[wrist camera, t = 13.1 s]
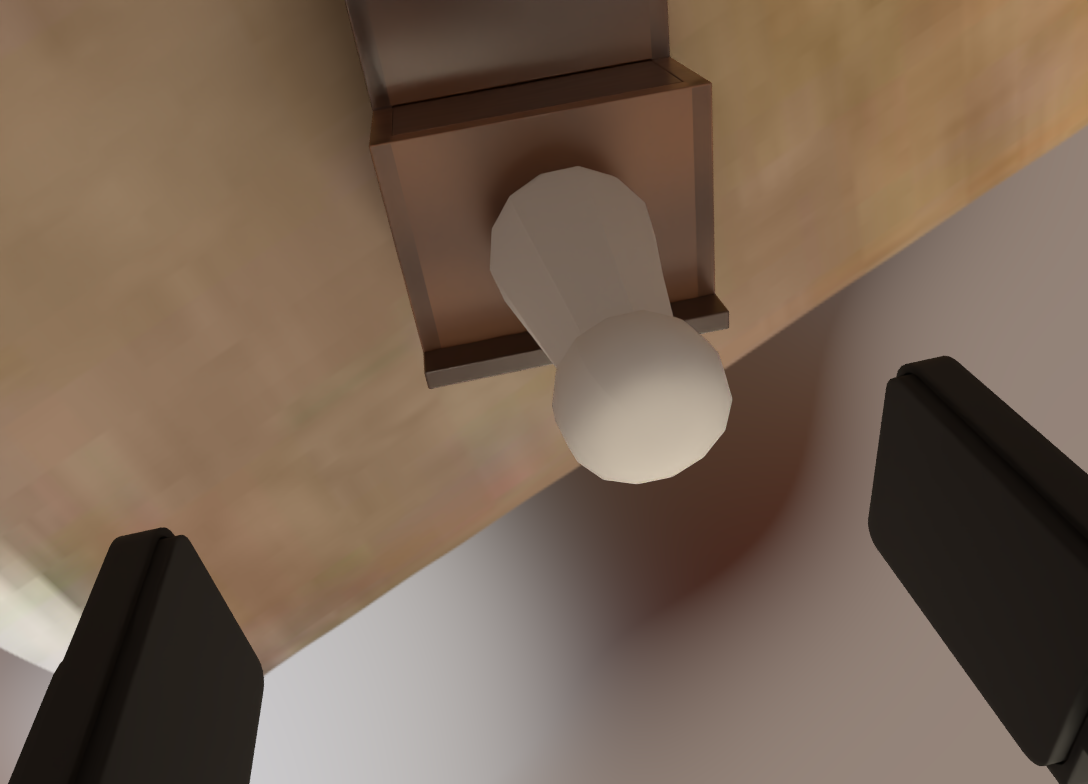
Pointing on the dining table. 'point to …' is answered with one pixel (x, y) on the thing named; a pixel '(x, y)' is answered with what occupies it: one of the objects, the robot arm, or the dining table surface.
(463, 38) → the spice rack
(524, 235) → the salt shaker
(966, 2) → the dining table surface
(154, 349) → the dining table surface
